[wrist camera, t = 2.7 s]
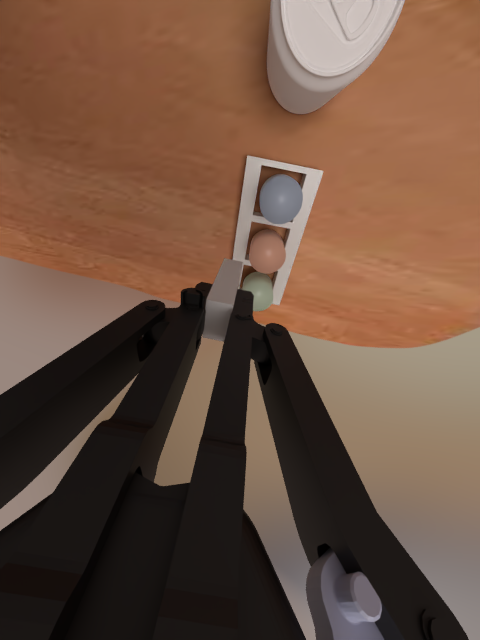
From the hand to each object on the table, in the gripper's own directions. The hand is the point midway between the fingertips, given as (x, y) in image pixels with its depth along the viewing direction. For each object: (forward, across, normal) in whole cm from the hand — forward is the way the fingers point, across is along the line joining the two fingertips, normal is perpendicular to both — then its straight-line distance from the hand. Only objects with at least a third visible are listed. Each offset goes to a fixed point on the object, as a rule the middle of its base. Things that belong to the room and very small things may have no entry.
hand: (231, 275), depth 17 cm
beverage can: (+17, +3, +17) cm, 24 cm away
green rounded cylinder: (+14, +4, -7) cm, 17 cm away
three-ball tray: (+17, +3, -1) cm, 18 cm away
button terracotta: (+14, +3, -1) cm, 15 cm away
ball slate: (+14, +3, +5) cm, 15 cm away
